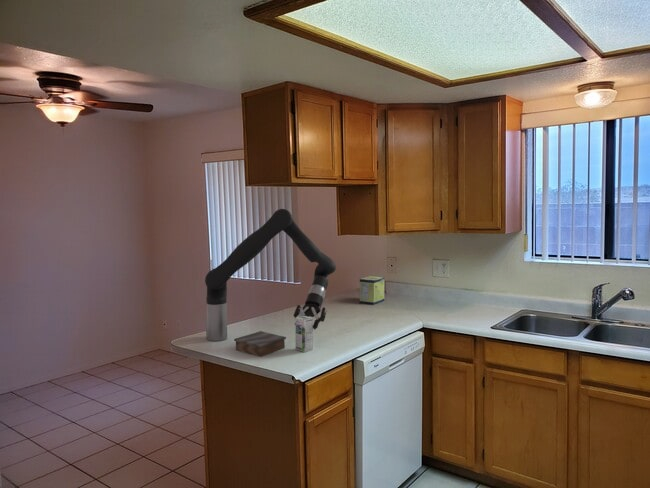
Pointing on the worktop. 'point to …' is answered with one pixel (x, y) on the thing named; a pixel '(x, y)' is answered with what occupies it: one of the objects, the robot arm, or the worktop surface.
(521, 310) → the worktop surface
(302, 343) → the syrup box
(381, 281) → the protein box
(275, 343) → the podium
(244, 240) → the robot arm
